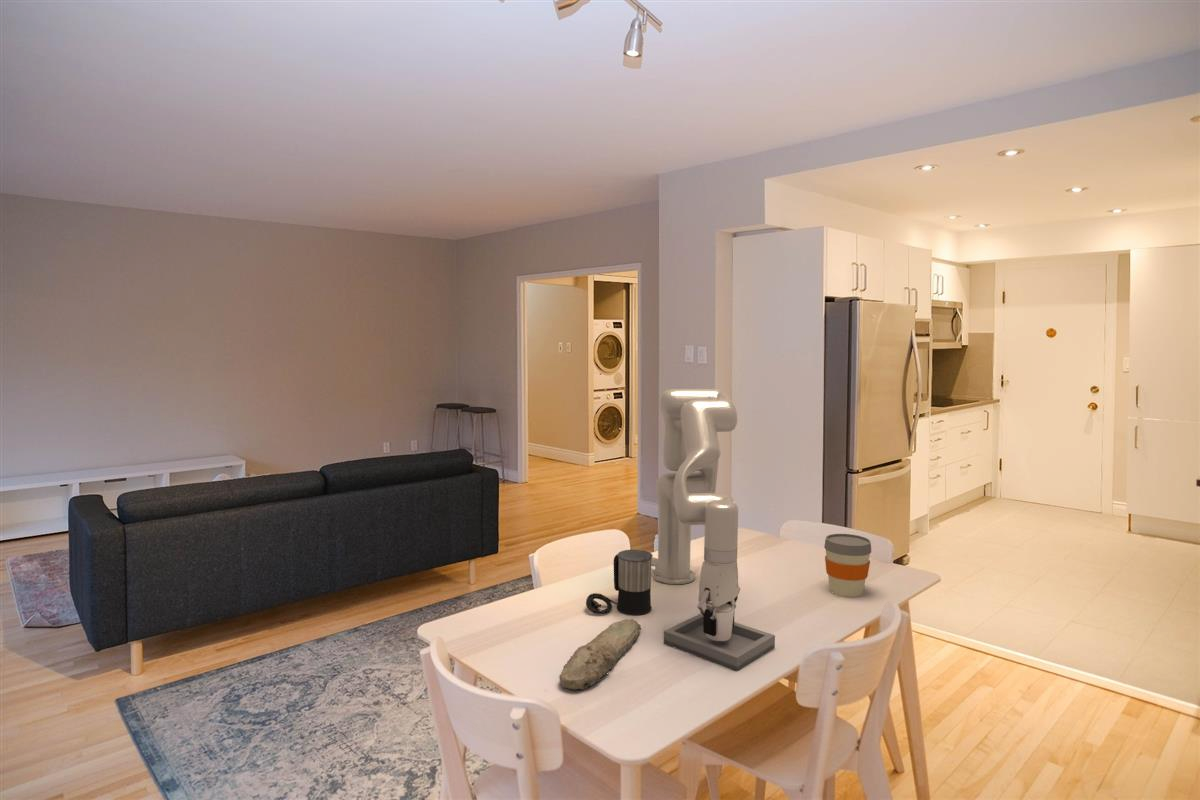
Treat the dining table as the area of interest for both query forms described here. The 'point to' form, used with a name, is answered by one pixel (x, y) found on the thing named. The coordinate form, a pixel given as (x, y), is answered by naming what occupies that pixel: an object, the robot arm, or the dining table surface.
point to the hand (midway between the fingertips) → (718, 628)
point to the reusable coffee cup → (847, 563)
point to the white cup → (723, 622)
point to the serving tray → (720, 643)
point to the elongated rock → (599, 655)
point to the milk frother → (628, 584)
